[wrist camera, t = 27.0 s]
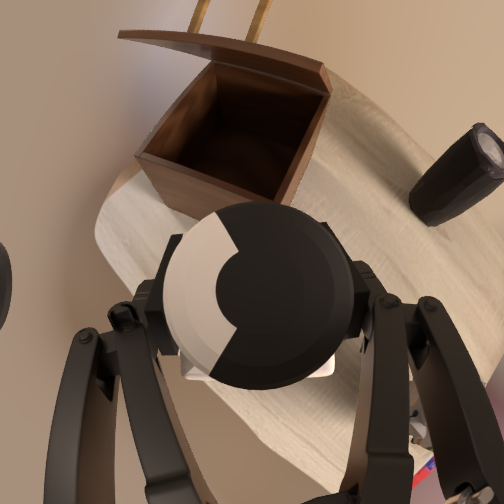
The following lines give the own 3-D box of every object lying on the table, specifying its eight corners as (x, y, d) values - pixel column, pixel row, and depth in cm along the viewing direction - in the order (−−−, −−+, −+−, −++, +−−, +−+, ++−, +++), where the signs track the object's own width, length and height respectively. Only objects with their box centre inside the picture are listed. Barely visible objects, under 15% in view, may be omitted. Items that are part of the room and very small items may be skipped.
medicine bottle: (303, 260, 20) (363, 178, 9) (307, 359, 19) (381, 400, 7) (203, 261, 20) (148, 180, 9) (204, 362, 19) (140, 407, 7)
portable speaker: (449, 201, 42) (516, 148, 23) (436, 241, 40) (515, 194, 21) (415, 173, 43) (474, 107, 24) (398, 211, 41) (468, 147, 23)
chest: (268, 251, 40) (277, 211, 26) (167, 206, 42) (133, 155, 28) (311, 155, 44) (331, 94, 30) (220, 122, 46) (211, 59, 32)
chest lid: (319, 73, 14) (357, -30, 10) (116, 38, 16) (149, -46, 11) (330, 94, 30) (352, 36, 25) (210, 60, 32) (229, 6, 27)
